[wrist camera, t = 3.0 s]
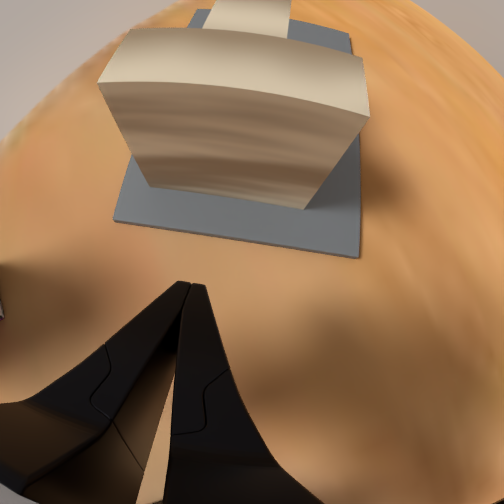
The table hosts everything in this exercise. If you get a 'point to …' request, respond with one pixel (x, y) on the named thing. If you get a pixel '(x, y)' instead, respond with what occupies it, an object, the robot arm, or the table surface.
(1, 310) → the candy bar box
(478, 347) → the table surface
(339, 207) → the slate board
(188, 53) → the maple T block
